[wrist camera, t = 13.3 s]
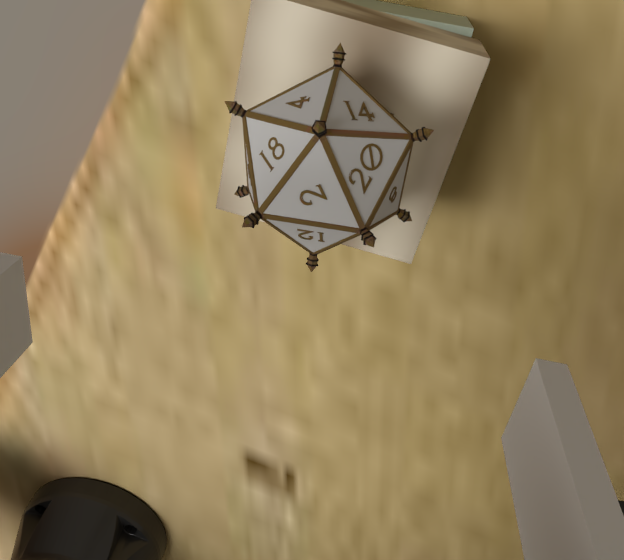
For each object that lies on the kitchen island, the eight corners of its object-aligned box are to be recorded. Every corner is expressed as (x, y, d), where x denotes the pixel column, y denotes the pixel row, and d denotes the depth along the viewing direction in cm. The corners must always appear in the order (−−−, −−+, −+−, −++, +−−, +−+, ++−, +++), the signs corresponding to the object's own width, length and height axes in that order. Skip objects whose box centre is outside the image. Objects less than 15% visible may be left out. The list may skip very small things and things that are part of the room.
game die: (332, 79, 32) (324, -42, 22) (449, 189, 31) (497, 116, 21) (211, 197, 31) (146, 129, 21) (325, 312, 30) (312, 298, 20)
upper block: (238, 174, 37) (215, 208, 32) (274, -19, 31) (253, -10, 27) (411, 224, 37) (410, 263, 32) (479, 39, 31) (490, 58, 27)
